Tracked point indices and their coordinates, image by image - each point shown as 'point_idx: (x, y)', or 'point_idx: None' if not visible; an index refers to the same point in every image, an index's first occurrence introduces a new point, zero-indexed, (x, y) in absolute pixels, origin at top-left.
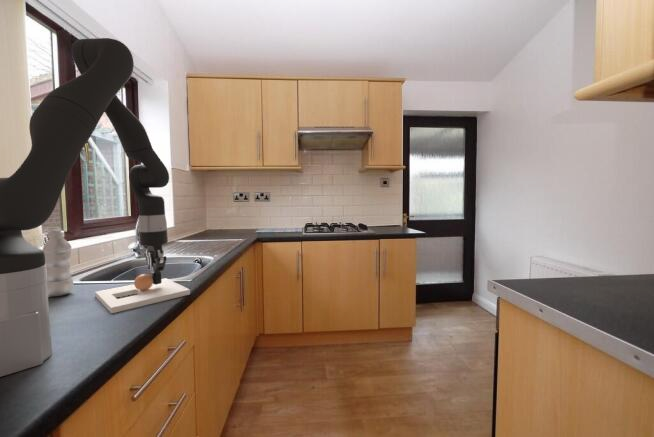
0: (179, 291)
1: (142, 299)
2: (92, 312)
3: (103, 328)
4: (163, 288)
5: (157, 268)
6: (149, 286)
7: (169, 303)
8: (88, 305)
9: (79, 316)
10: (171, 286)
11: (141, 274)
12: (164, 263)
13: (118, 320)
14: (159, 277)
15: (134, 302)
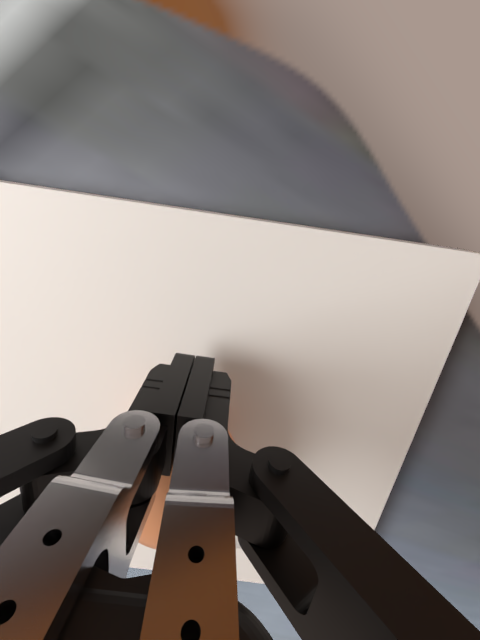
0: (448, 326)
1: (366, 500)
2: (258, 586)
3: (462, 614)
4: (263, 348)
5: (283, 537)
6: (233, 438)
7: (477, 406)
8: (148, 570)
9: (263, 612)
10: (267, 291)
11: (151, 541)
12: (420, 590)
13: (442, 577)
14: (228, 407)
15: None
